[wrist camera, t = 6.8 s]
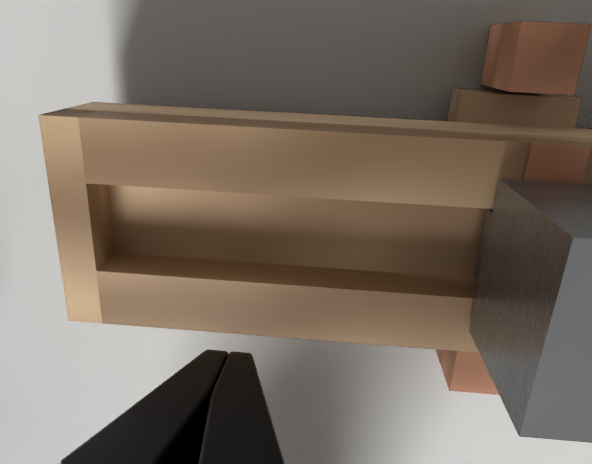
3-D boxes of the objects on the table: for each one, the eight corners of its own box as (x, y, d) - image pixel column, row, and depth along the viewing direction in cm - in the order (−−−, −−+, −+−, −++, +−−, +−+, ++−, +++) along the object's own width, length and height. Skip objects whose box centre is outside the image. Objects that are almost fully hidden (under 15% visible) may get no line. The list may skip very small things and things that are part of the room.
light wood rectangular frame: (805, 375, 21) (942, 471, 16) (131, 322, 23) (78, 396, 18) (975, 46, 16) (1241, 47, 11) (102, 7, 18) (18, -6, 13)
